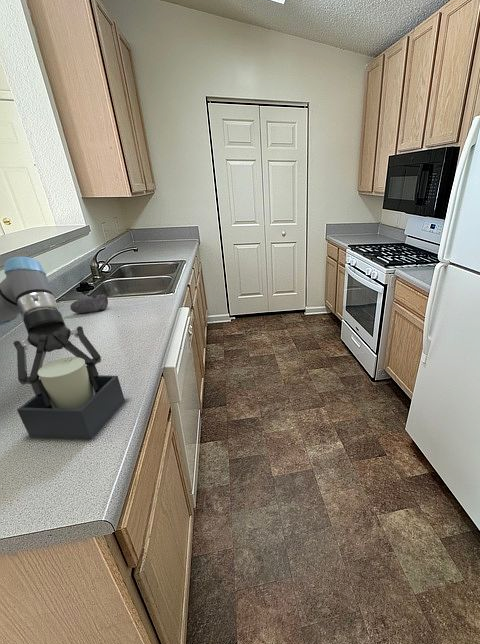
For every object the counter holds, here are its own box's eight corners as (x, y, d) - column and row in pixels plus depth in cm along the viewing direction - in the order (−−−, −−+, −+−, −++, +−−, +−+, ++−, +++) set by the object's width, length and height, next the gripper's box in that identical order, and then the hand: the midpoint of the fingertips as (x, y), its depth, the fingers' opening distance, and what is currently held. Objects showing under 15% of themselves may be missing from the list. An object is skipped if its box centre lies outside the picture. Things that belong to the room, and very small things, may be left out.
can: (104, 394, 85) (90, 353, 80) (90, 417, 77) (74, 373, 72) (65, 398, 84) (48, 356, 79) (46, 421, 76) (27, 377, 70)
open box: (30, 437, 76) (16, 409, 72) (72, 399, 89) (62, 374, 85) (91, 439, 75) (80, 411, 72) (125, 401, 88) (117, 375, 85)
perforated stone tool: (72, 316, 144) (67, 301, 141) (72, 312, 148) (67, 298, 145) (110, 310, 151) (106, 295, 148) (110, 307, 155) (106, 292, 152)
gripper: (-22, 319, 71) (10, 414, 67) (91, 298, 84) (124, 377, 80) (-12, 334, 77) (19, 422, 73) (92, 312, 90) (123, 386, 86)
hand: (74, 398), depth 76 cm, fingers closed on can, 9 cm apart
